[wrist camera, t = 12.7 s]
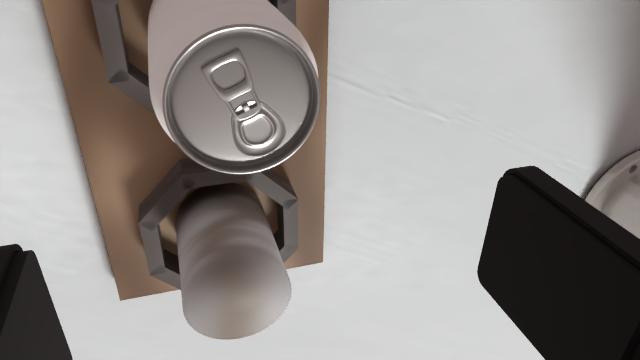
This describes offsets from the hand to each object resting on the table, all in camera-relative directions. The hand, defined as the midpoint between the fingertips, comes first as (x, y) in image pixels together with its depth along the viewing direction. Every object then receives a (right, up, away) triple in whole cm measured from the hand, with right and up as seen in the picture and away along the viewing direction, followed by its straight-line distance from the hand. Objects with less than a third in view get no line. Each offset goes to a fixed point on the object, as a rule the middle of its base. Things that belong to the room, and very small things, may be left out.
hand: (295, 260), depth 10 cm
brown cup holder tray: (-7, +5, +22) cm, 23 cm away
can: (-6, +10, +17) cm, 21 cm away
